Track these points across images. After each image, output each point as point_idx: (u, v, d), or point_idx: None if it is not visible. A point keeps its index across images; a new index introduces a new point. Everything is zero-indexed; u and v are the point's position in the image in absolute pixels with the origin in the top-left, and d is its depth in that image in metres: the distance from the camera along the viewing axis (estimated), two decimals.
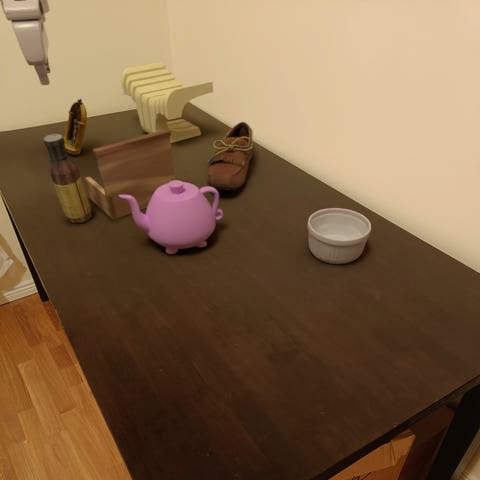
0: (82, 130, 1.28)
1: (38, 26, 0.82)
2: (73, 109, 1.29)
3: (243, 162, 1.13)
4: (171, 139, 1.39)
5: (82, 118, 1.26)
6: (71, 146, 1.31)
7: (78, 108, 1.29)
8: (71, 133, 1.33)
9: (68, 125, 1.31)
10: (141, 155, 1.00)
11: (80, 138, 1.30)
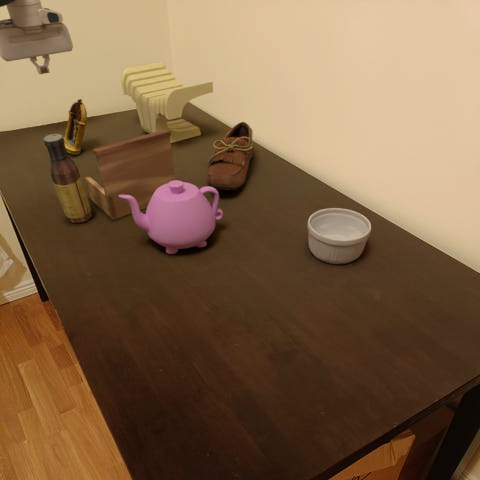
0: (82, 130, 1.28)
1: None
2: (73, 109, 1.29)
3: (243, 162, 1.13)
4: (171, 139, 1.39)
5: (82, 118, 1.26)
6: (71, 146, 1.31)
7: (78, 108, 1.29)
8: (71, 133, 1.33)
9: (68, 125, 1.31)
10: (141, 155, 1.00)
11: (80, 138, 1.30)
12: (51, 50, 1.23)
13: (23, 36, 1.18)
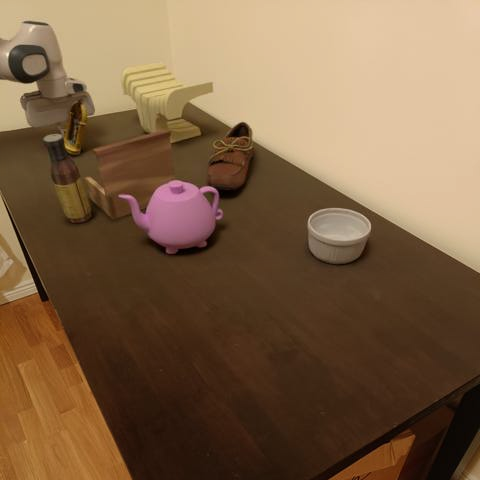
0: (83, 130, 1.28)
1: None
2: (73, 109, 1.29)
3: (243, 162, 1.13)
4: (171, 139, 1.39)
5: (83, 118, 1.26)
6: (71, 146, 1.31)
7: (78, 108, 1.29)
8: (71, 133, 1.33)
9: (68, 125, 1.31)
10: (141, 155, 1.00)
11: (81, 138, 1.30)
12: None
13: (50, 105, 1.25)
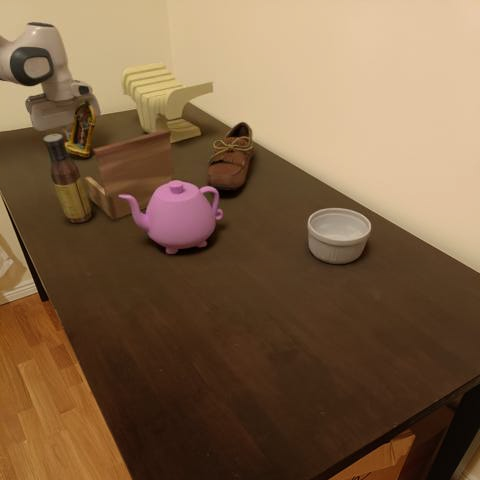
0: (92, 131, 1.27)
1: None
2: None
3: (243, 162, 1.13)
4: (171, 139, 1.39)
5: (93, 119, 1.25)
6: (81, 149, 1.29)
7: None
8: (76, 136, 1.31)
9: (73, 128, 1.29)
10: (141, 155, 1.00)
11: (90, 140, 1.29)
12: (80, 118, 1.29)
13: (55, 108, 1.23)
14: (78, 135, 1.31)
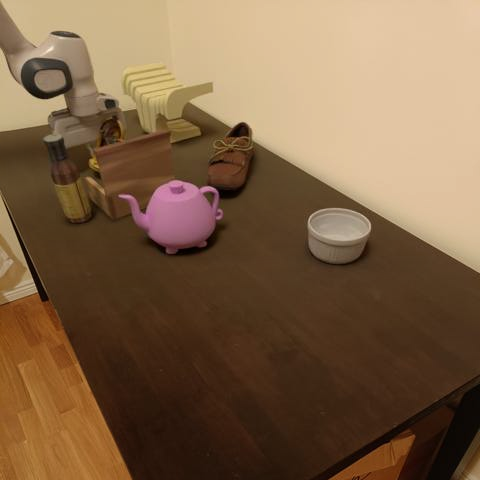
0: None
1: None
2: (102, 126, 1.18)
3: (243, 162, 1.13)
4: (171, 139, 1.39)
5: (122, 135, 1.16)
6: None
7: None
8: None
9: (98, 145, 1.19)
10: (141, 155, 1.00)
11: None
12: (106, 134, 1.19)
13: (79, 123, 1.13)
14: None
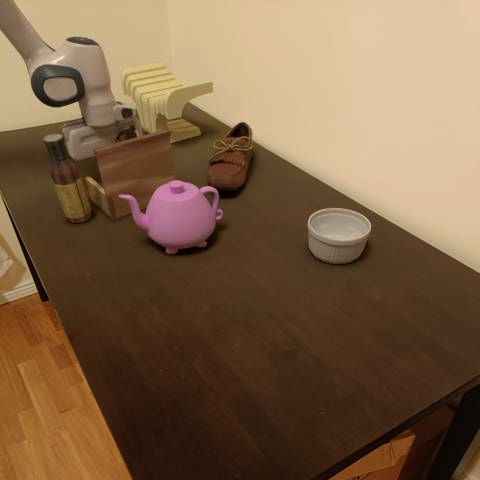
0: None
1: None
2: (118, 136, 1.12)
3: (243, 162, 1.13)
4: (171, 139, 1.39)
5: None
6: None
7: None
8: None
9: None
10: (141, 155, 1.00)
11: None
12: None
13: (95, 134, 1.08)
14: None
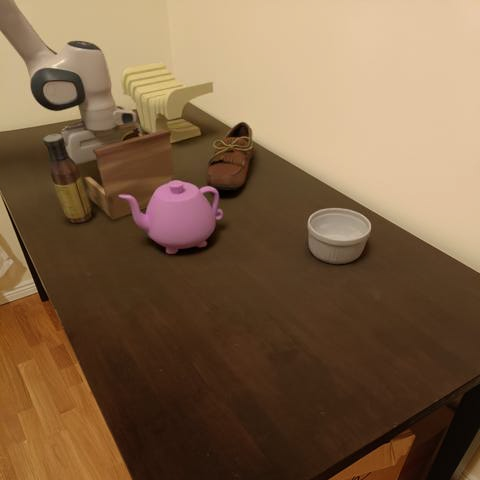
0: None
1: None
2: None
3: (243, 162, 1.13)
4: (171, 139, 1.39)
5: None
6: None
7: (127, 139, 1.11)
8: None
9: None
10: (141, 155, 1.00)
11: None
12: None
13: (94, 138, 1.07)
14: None
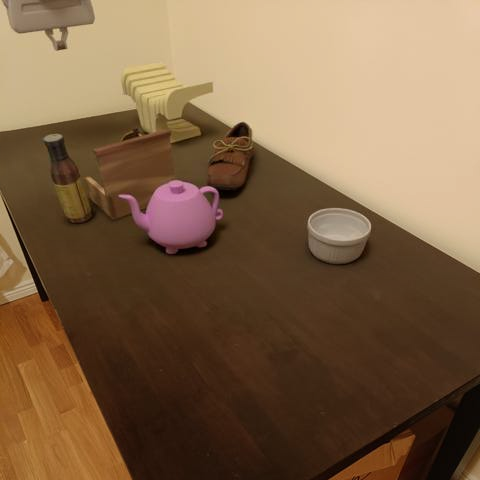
0: None
1: None
2: None
3: (243, 162, 1.13)
4: (171, 139, 1.39)
5: None
6: None
7: (127, 139, 1.11)
8: None
9: None
10: (141, 155, 1.00)
11: None
12: (70, 22, 1.06)
13: (38, 3, 1.00)
14: None
